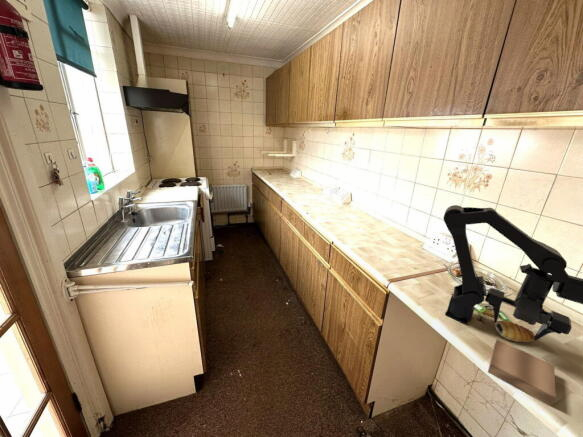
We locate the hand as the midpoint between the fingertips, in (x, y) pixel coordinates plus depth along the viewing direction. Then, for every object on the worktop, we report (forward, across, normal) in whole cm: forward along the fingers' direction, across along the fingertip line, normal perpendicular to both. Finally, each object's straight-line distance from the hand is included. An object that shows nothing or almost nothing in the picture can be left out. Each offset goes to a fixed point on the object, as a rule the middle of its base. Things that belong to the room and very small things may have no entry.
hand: (514, 330), depth 77 cm
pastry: (+3, +3, -1) cm, 5 cm away
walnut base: (+2, +3, -16) cm, 16 cm away
